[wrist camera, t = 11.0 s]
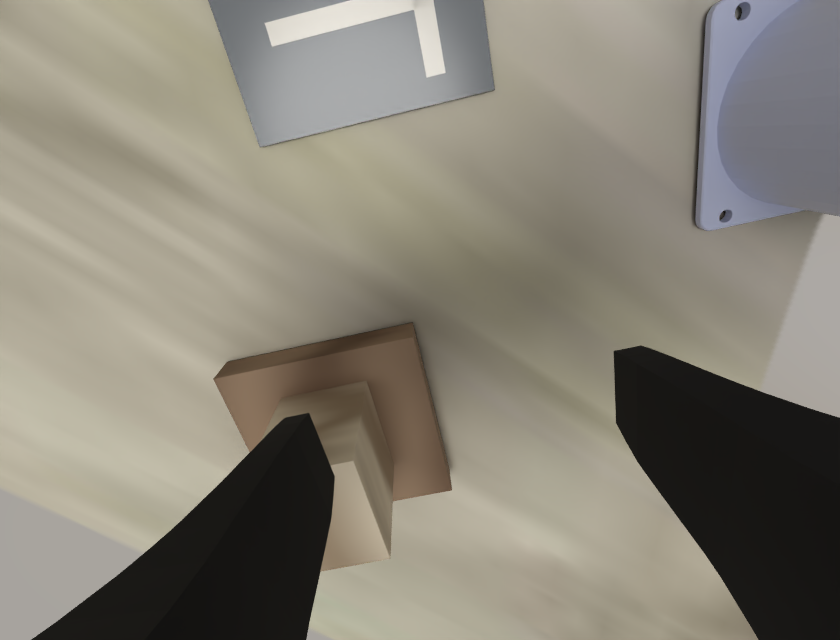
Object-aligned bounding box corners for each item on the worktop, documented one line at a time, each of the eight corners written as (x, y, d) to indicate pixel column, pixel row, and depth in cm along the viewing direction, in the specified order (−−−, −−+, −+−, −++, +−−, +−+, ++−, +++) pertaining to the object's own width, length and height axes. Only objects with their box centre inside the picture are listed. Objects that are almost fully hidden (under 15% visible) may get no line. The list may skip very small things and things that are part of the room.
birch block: (366, 380, 19) (353, 460, 14) (393, 464, 21) (390, 558, 16) (280, 398, 19) (240, 483, 14) (316, 479, 21) (290, 576, 16)
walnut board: (412, 322, 19) (413, 337, 18) (449, 468, 23) (451, 490, 21) (226, 361, 20) (213, 378, 18) (291, 498, 23) (284, 521, 22)
